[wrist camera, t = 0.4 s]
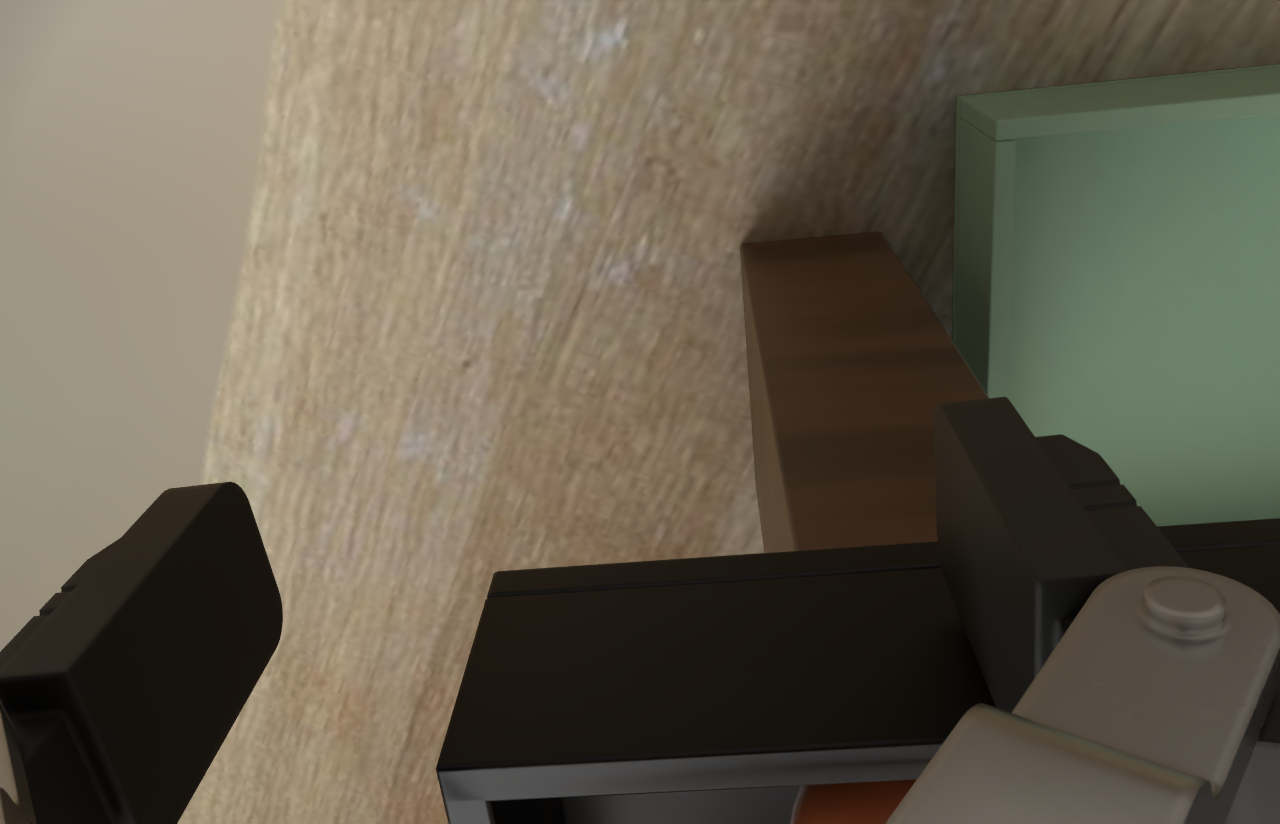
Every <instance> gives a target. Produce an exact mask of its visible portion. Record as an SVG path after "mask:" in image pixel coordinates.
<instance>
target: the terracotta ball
mask: <svg viewBox="0 0 1280 824" xmlns="http://www.w3.org/2000/svg"><path fill="white" fill-rule="evenodd" d="M915 782H916V780H901V781H882V782H863V783H843V784H824V785H804V786H800V789H799V791H798V794H797V797H796V800H795V802H794V805H793V809H792V814H791V819H790V824H885V823H886V822H887V820H888V819H889V818H890V816H891V815H892V813H893V812H894V811H895V809H896V808H897V807H898V805H899V804H900V802H901V801H902V800H903V798H904V797H905V795H906V794H907V793H908V791H909V790H910V789H911V787H912V786H913V784H914V783H915Z"/></svg>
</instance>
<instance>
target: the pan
mask: <svg viewBox="0 0 1280 824" xmlns="http://www.w3.org/2000/svg"><path fill="white" fill-rule="evenodd" d="M1157 527H1158V529H1159V530H1160V531H1161V532H1162V534H1163V535H1164V536H1165V537H1166V539H1167V540H1168V541H1169V542H1170V544H1171V545H1172V546H1173V548H1174V549H1175V550H1176V551H1177V553H1178V554H1179V555H1180V556H1181V558H1182V559H1183V560H1184V561H1185V563H1186V564H1187V565H1188V566H1189V568H1192V569H1197V570H1203V571H1208V572H1211V573H1215V574H1218V575H1222V576H1225V577H1227V578H1230V579H1233V580H1235V581H1238V582H1240V583H1242V584H1244V585H1246V586H1248V587H1250V588H1251V589H1253V590H1255V591H1256V592H1258V593H1259V594H1261V595H1262V596H1263V597H1264V598H1266V599H1267V600H1268V601H1269V602H1270V603H1271V604H1272V605H1273V606H1274V607H1275V609H1276V610H1277V611H1278V612H1279V614H1280V518H1271V519H1256V520H1242V521H1227V522H1212V523H1198V524H1183V525H1168V526H1157ZM980 703H984V704H987V705H990V706H993V707H996V706H995V703H994V701H993V698H992V696H991V693H990V691H989V688H988V686H987V683H986V681H985V678H984V676H983V673H982V671H981V668H980V666H979V663H978V661H977V658H976V656H975V653H974V651H973V648H972V646H971V643H970V641H969V638H968V636H967V633H966V631H965V628H964V626H963V623H962V621H961V618H960V616H959V613H958V611H957V609H956V606H955V604H954V601H953V599H952V596H951V594H950V591H949V589H948V586H947V583H946V580H945V577H944V573H943V569H942V564H941V559H940V554H939V547H938V541H934V542H920V543H905V544H890V545H876V546H861V547H847V548H832V549H817V550H803V551H788V552H773V553H759V554H744V555H730V556H715V557H700V558H686V559H671V560H656V561H642V562H627V563H612V564H598V565H583V566H569V567H554V568H539V569H525V570H510V571H498V572H495V573H494V575H493V578H492V582H491V585H490V588H489V592H488V595H487V599H486V601H485V604H484V608H483V611H482V615H481V618H480V621H479V625H478V628H477V631H476V635H475V638H474V642H473V645H472V648H471V652H470V655H469V659H468V662H467V665H466V669H465V672H464V676H463V679H462V682H461V686H460V689H459V692H458V696H457V699H456V703H455V706H454V709H453V713H452V716H451V720H450V723H449V726H448V730H447V733H446V737H445V740H444V743H443V747H442V750H441V753H440V757H439V760H438V764H437V767H436V771H437V776H438V780H439V784H440V788H441V793H442V797H443V801H444V805H445V810H446V814H447V818H448V822H449V824H790V819H791V814H792V809H793V805H794V802H795V800H796V797H797V794H798V791H799V789H800V786H804V785H824V784H843V783H863V782H882V781H901V780H917V779H918V777H919V776H920V775H921V773H922V772H923V771H924V769H925V768H926V766H927V765H928V764H929V762H930V761H931V759H932V758H933V757H934V755H935V754H936V752H937V751H938V750H939V748H940V747H941V746H942V744H943V743H944V741H945V740H946V739H947V737H948V736H949V734H950V733H951V732H952V730H953V729H954V728H955V726H956V725H957V723H958V722H959V721H960V719H961V718H962V717H963V716H964V714H965V713H966V712H967V711H968V710H969V709H970V708H972V707H973V706H975V705H977V704H980Z"/></svg>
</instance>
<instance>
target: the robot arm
mask: <svg viewBox="0 0 1280 824" xmlns="http://www.w3.org/2000/svg"><path fill="white" fill-rule="evenodd" d="M934 459H935V490H936V521H937V538H938V547H939V554H940V559H941V564H942V569H943V573H944V577H945V580H946V583H947V586H948V589H949V591H950V594H951V596H952V599H953V601H954V604H955V606H956V609H957V611H958V613H959V616H960V618H961V621H962V623H963V626H964V628H965V631H966V633H967V636H968V638H969V641H970V643H971V646H972V648H973V651H974V653H975V656H976V658H977V661H978V663H979V666H980V668H981V671H982V673H983V676H984V678H985V681H986V683H987V686H988V688H989V691H990V693H991V696H992V698H993V701H994V703H995V706H996V707H993V706H990V705H987V704H984V703H980V704H977V705H975V706H973V707H972V708H970V709H969V710H968V711H967V712H966V713H965V714H964V716H963V717H962V718H961V719H960V721H959V722H958V723H957V725H956V726H955V728H954V729H953V730H952V732H951V733H950V734H949V736H948V737H947V739H946V740H945V741H944V743H943V744H942V746H941V747H940V748H939V750H938V751H937V752H936V754H935V755H934V757H933V758H932V759H931V761H930V762H929V764H928V765H927V766H926V768H925V769H924V771H923V772H922V773H921V775H920V776H919V777H918V779H917V780H916V782H915V783H914V784H913V786H912V787H911V789H910V790H909V791H908V793H907V794H906V795H905V797H904V798H903V800H902V801H901V802H900V804H899V805H898V807H897V808H896V809H895V811H894V812H893V813H892V815H891V816H890V818H889V819H888V820H887V822H886V823H885V824H1280V614H1279V612H1278V611H1277V610H1276V609H1275V607H1274V606H1273V605H1272V604H1271V603H1270V602H1269V601H1268V600H1267V599H1266V598H1264V597H1263V596H1262V595H1261V594H1259V593H1258V592H1256V591H1255V590H1253V589H1251V588H1250V587H1248V586H1246V585H1244V584H1242V583H1240V582H1238V581H1235V580H1233V579H1230V578H1227V577H1225V576H1222V575H1218V574H1215V573H1211V572H1208V571H1203V570H1197V569H1192V568H1189V566H1188V565H1187V564H1186V563H1185V561H1184V560H1183V559H1182V558H1181V556H1180V555H1179V554H1178V553H1177V551H1176V550H1175V549H1174V548H1173V546H1172V545H1171V544H1170V542H1169V541H1168V540H1167V539H1166V537H1165V536H1164V535H1163V534H1162V532H1161V531H1160V530H1159V529H1158V527H1157V526H1156V525H1155V524H1154V522H1153V521H1152V520H1151V518H1150V517H1149V516H1148V515H1147V513H1146V512H1145V511H1144V510H1143V508H1142V507H1141V506H1137V503H1136V500H1135V498H1134V497H1133V496H1132V494H1131V493H1130V492H1129V491H1128V489H1127V488H1126V487H1125V486H1124V484H1123V485H1120V479H1119V478H1118V477H1117V476H1116V474H1115V473H1114V472H1113V470H1112V469H1111V468H1110V467H1109V465H1108V464H1107V463H1106V462H1105V460H1104V459H1103V458H1102V457H1101V455H1100V454H1099V453H1097V452H1095V451H1093V450H1091V449H1089V448H1087V447H1085V446H1083V445H1082V444H1080V443H1078V442H1076V441H1074V440H1072V439H1070V438H1068V437H1066V436H1065V435H1063V434H1059V435H1050V436H1041V437H1035V436H1034V435H1033V433H1032V432H1031V430H1030V429H1029V428H1028V426H1027V425H1026V423H1025V422H1024V420H1023V419H1022V417H1021V416H1020V415H1019V413H1018V412H1017V410H1016V409H1015V407H1014V406H1013V404H1012V403H1011V402H1010V400H1009V399H1008V398H1007V397H996V398H987V399H978V400H969V401H961V402H952V403H943V404H937V405H936V407H935V411H934ZM61 589H62V591H61V593H56V594H55V595H54V596H53V597H52V598H51V599H50V600H49V601H48V602H47V603H46V604H45V605H44V606H43V607H42V608H41V609H40V616H34V617H33V618H32V619H31V620H30V621H29V622H28V623H27V624H26V625H25V626H24V627H23V629H21V631H20V632H19V633H18V634H17V635H16V636H15V637H14V638H13V639H12V640H11V641H10V642H9V643H8V644H7V646H5V648H4V649H3V650H2V651H1V652H0V824H177V823H178V821H179V819H180V817H181V816H182V814H183V812H184V810H185V809H186V807H187V805H188V803H189V802H190V800H191V798H192V796H193V794H194V793H195V791H196V789H197V787H198V786H199V784H200V782H201V780H202V779H203V777H204V775H205V773H206V771H207V770H208V768H209V766H210V764H211V763H212V761H213V759H214V757H215V756H216V754H217V752H218V750H219V749H220V747H221V745H222V743H223V741H224V740H225V738H226V736H227V734H228V733H229V731H230V729H231V727H232V726H233V724H234V722H235V720H236V719H237V717H238V715H239V713H240V711H241V710H242V708H243V706H244V704H245V703H246V701H247V699H248V697H249V696H250V694H251V692H252V690H253V688H254V687H255V685H256V683H257V681H258V680H259V678H260V676H261V674H262V673H263V671H264V669H265V667H266V666H267V664H268V662H269V660H270V658H271V657H272V655H273V653H274V651H275V650H276V648H277V645H278V643H279V640H280V636H281V631H282V621H283V613H282V602H281V597H280V593H279V590H278V587H277V584H276V581H275V578H274V575H273V572H272V569H271V566H270V563H269V560H268V557H267V554H266V551H265V548H264V545H263V542H262V539H261V536H260V533H259V530H258V527H257V524H256V521H255V518H254V515H253V512H252V509H251V506H250V503H249V501H248V498H247V496H246V494H245V492H244V491H243V490H242V488H241V487H240V486H239V485H237V484H236V483H233V482H225V483H216V484H207V485H198V486H190V487H180V488H171V489H168V490H166V491H164V492H163V493H162V494H161V495H160V496H159V497H158V498H157V499H156V500H155V501H154V503H153V504H152V505H151V506H150V507H149V508H148V509H147V510H146V511H145V512H144V513H143V514H142V516H141V517H140V518H139V519H138V520H137V521H136V522H135V523H134V524H133V525H132V526H131V527H130V529H129V530H128V531H127V532H126V533H125V534H124V535H123V536H122V537H121V538H120V539H118V540H117V541H115V542H114V543H112V544H111V545H109V546H108V547H106V548H105V549H103V550H102V551H100V552H99V553H97V554H95V555H94V556H92V557H91V558H90V559H88V560H87V561H86V562H85V563H84V564H83V565H82V566H81V567H80V568H79V569H78V570H77V571H76V572H75V574H73V575H72V577H71V578H70V579H69V580H68V581H67V582H66V583H65V584H64V585H63V586H62V587H61Z"/></svg>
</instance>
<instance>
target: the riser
mask: <svg viewBox="0 0 1280 824" xmlns="http://www.w3.org/2000/svg"><path fill="white" fill-rule="evenodd" d="M740 254H741V269H742V284H743V299H744V314H745V329H746V344H747V359H748V374H749V389H750V404H751V419H752V434H753V449H754V464H755V479H756V491H757V499H758V507H759V514H760V522H761V530H762V538H763V545H764V553H773V552H788V551H803V550H817V549H832V548H847V547H861V546H876V545H890V544H905V543H920V542H934V541H938V538H937V521H936V490H935V459H934V411H935V407H936V405H937V404H943V403H952V402H961V401H969V400H978V399H987V398H989V397H988V395H987V393H986V392H985V390H984V389H983V387H982V386H981V384H980V383H979V381H978V380H977V378H976V377H975V375H974V374H973V372H972V370H971V369H970V367H969V366H968V364H967V363H966V361H965V360H964V358H963V357H962V355H961V354H960V352H959V351H958V349H957V348H956V346H955V344H954V343H953V341H952V340H951V338H950V337H949V335H948V334H947V332H946V331H945V329H944V328H943V326H942V325H941V323H940V322H939V320H938V318H937V317H936V315H935V314H934V312H933V311H932V309H931V308H930V306H929V305H928V303H927V302H926V300H925V299H924V297H923V295H922V294H921V292H920V291H919V289H918V288H917V286H916V285H915V283H914V282H913V280H912V279H911V277H910V276H909V274H908V273H907V271H906V269H905V268H904V266H903V265H902V263H901V262H900V260H899V259H898V257H897V256H896V254H895V253H894V251H893V250H892V248H891V247H890V245H889V243H888V242H887V240H886V239H885V237H884V236H883V234H882V233H881V232H870V233H859V234H848V235H837V236H826V237H815V238H804V239H793V240H782V241H771V242H760V243H749V244H742V245H741V246H740Z"/></svg>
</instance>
